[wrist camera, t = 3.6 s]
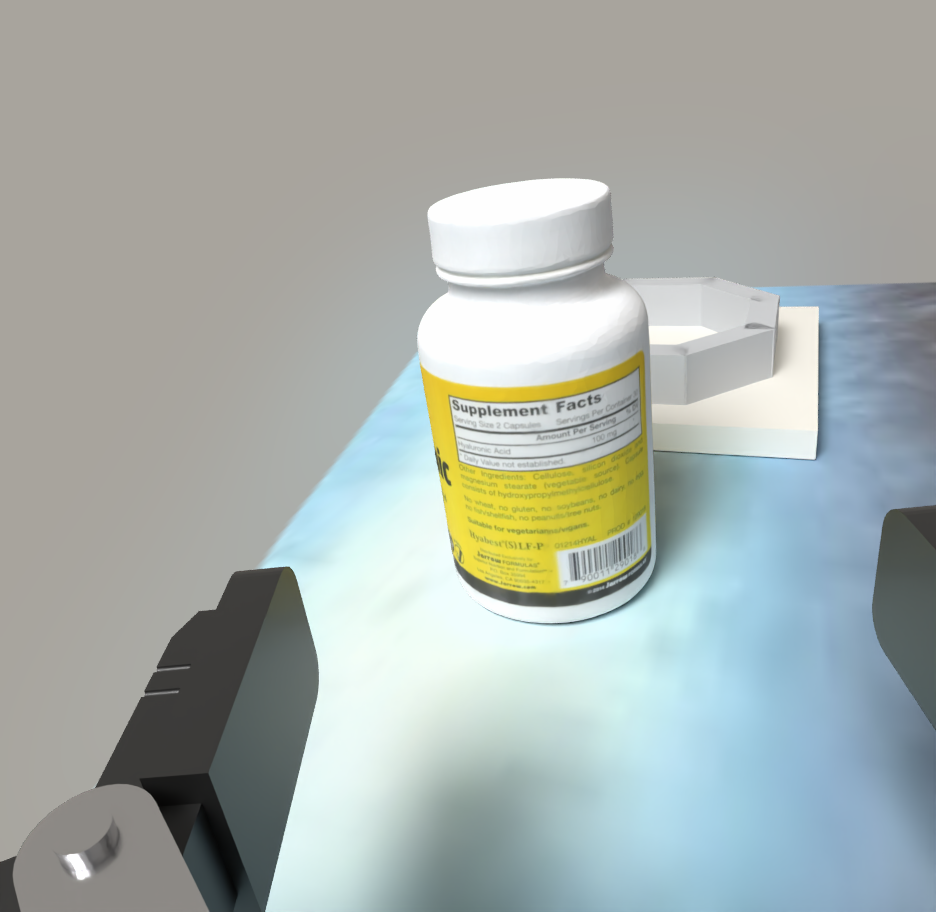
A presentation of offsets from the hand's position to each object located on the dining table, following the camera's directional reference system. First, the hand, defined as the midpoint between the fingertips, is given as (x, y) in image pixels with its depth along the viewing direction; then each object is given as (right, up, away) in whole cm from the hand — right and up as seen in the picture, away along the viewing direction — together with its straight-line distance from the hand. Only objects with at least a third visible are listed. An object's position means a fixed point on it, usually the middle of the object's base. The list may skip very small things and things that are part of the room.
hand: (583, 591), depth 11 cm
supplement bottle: (+1, -1, +11) cm, 11 cm away
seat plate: (+6, +5, +21) cm, 22 cm away
